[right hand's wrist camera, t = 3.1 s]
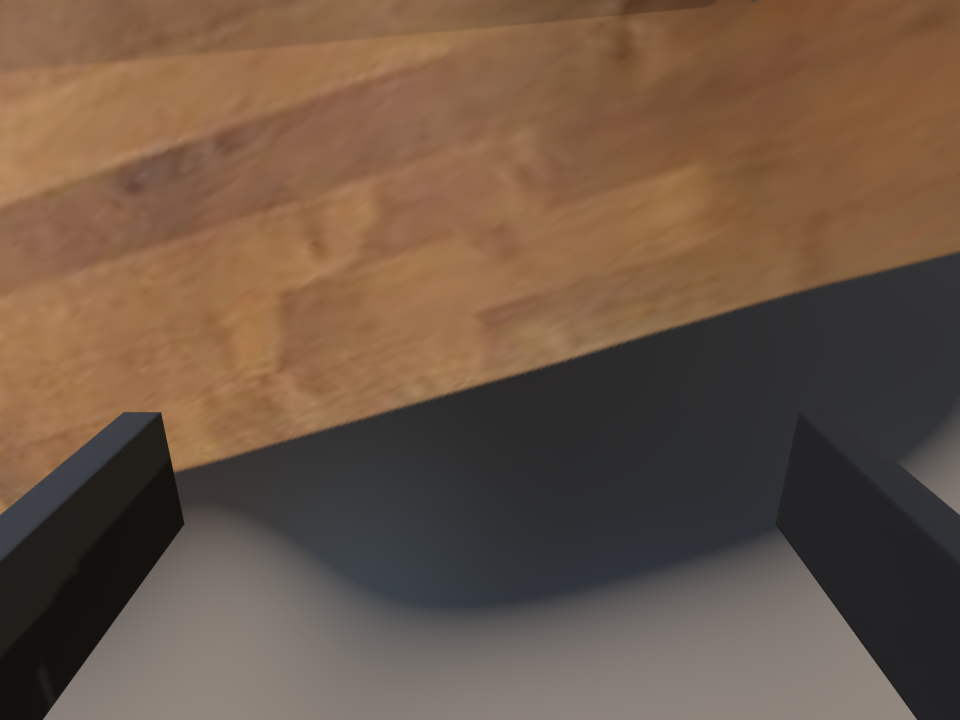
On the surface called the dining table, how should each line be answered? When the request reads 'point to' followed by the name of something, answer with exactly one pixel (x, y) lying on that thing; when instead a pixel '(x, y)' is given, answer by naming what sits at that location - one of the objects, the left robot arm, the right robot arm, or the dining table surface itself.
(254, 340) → the dining table surface
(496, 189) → the dining table surface
